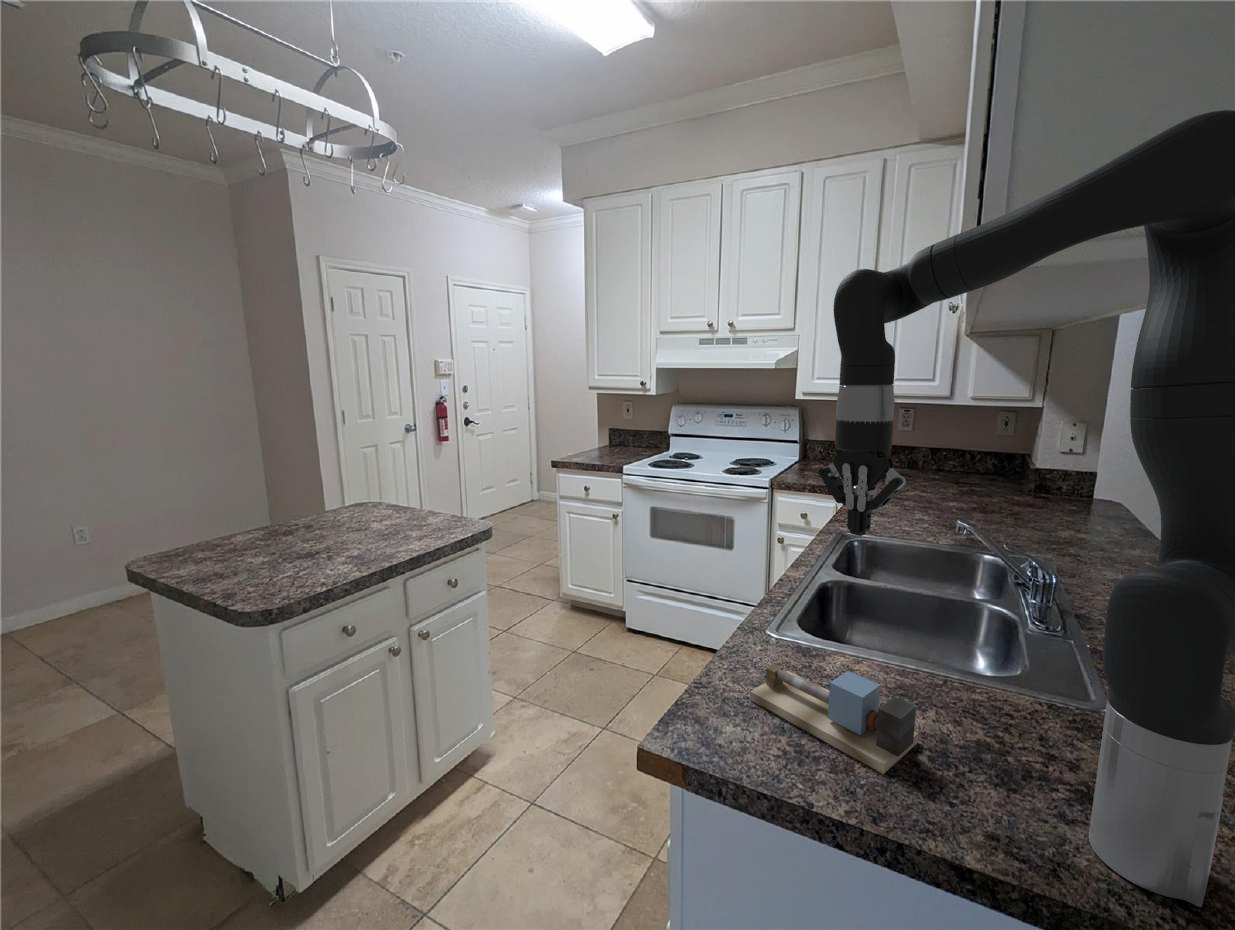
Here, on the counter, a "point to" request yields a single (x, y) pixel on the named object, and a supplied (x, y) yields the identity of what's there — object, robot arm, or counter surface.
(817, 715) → the rail board
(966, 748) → the counter surface
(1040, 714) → the counter surface
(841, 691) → the blue sleeve
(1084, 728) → the counter surface
